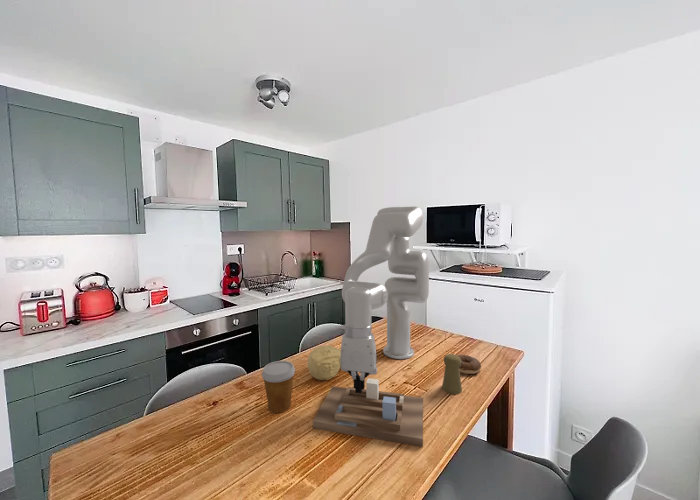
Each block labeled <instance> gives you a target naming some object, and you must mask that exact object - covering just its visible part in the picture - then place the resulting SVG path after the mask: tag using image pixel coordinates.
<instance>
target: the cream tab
mask: <svg viewBox="0 0 700 500" xmlns="http://www.w3.org/2000/svg"><path fill="white" fill-rule="evenodd" d="M379 381H380V379H377V378H368V377H367V379H366V381H365V389H366V398H369V399H376V400H378V399H379V391H380V389H379V387H380V386H379V385H380V384H379Z"/></svg>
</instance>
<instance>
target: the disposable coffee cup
mask: <svg viewBox="0 0 700 500" xmlns="http://www.w3.org/2000/svg"><path fill="white" fill-rule="evenodd" d="M295 372H296V368H295V367H294V364H293V363H292V362H291V361H288V360H276V361H272V362H270V363H267V364H266V365H265V366H264V367H263V369H262V371H261V377H262V379H263V382H264V383H263V384H264V388H265V393H266V401H267V406H268V410H269V412H271V413H274V414H281V413H285V412H286V411H288V410H289V409H290V408H291V406H292V405H291V404H292V395H293V394H292V393H293V385H294V384H293V383H294V375H295Z"/></svg>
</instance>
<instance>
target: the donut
mask: <svg viewBox="0 0 700 500" xmlns="http://www.w3.org/2000/svg"><path fill="white" fill-rule="evenodd" d="M456 355H457V356H459V358H460V359H461V365H460V367H459V370H460V374H465V375H466V374H467V375H474V374H477V373H479V372H481V369H482V364H481V362H480V360H479V359H477V358H475V357H474V356H473V357H472V356H471V355H469V354H468V355H467V354H456Z"/></svg>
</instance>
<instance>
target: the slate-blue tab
mask: <svg viewBox="0 0 700 500" xmlns="http://www.w3.org/2000/svg"><path fill="white" fill-rule="evenodd" d="M382 406H383V419H385V420H392V421H396V398H393V397H385V396H384V398H383V402H382Z"/></svg>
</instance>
